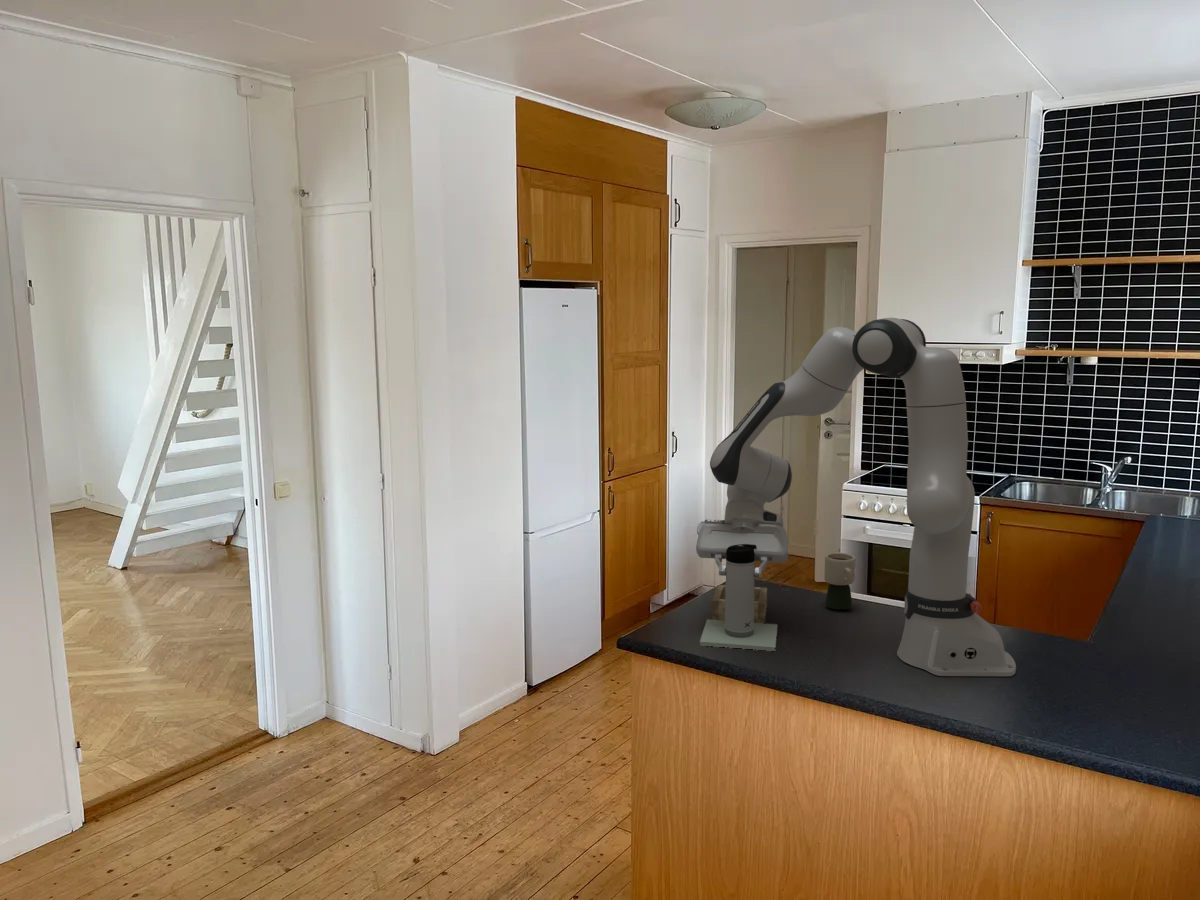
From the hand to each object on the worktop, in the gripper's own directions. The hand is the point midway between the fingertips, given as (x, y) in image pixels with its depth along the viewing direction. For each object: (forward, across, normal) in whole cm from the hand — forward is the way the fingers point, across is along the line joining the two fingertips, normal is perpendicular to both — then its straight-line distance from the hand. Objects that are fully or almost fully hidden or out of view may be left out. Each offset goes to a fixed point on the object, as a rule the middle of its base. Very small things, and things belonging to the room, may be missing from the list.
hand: (740, 575), depth 190 cm
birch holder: (-1, -1, +21) cm, 21 cm away
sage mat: (+10, 0, +10) cm, 14 cm away
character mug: (-7, +22, +28) cm, 36 cm away
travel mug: (+9, 0, +10) cm, 14 cm away
